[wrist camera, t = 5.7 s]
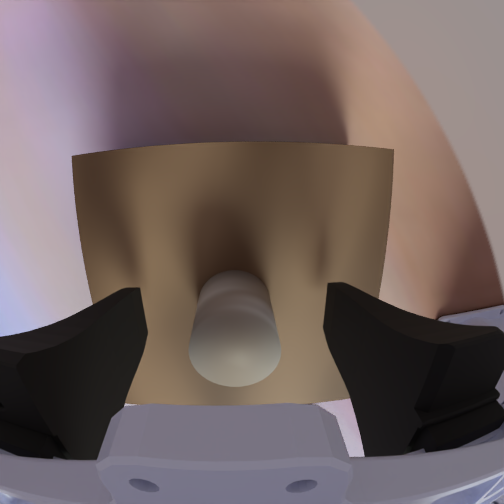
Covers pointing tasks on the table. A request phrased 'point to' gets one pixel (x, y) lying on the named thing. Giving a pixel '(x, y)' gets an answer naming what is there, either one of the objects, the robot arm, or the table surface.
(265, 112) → the table surface
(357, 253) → the cover
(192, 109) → the table surface
